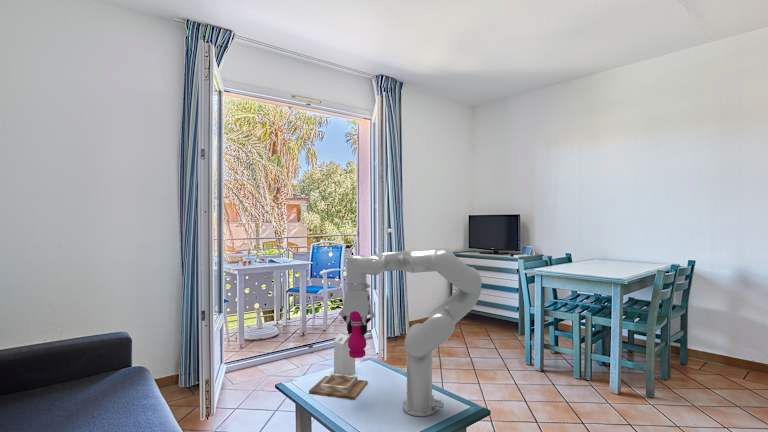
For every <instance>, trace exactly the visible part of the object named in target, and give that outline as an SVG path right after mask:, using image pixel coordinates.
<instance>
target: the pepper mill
mask: <svg viewBox="0 0 768 432" xmlns="http://www.w3.org/2000/svg"><path fill="white" fill-rule="evenodd" d="M350 318H351V325H352V333H351V334H350V335H349V336H350V338H349V340H348V347H349V349H350V351H349V356H350V357H352V358H355V359H361V358H364V357H365V356H366V350H365V349H366V347H367V344H368V343H367V339H366V337H365V335H364V336H363V335H362V325H363V321H362V317H361V316H360V314H359V313H358V312H357V311H353V312H351V313H350Z"/></svg>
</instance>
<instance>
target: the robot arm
mask: <svg viewBox="0 0 768 432" xmlns="http://www.w3.org/2000/svg"><path fill="white" fill-rule="evenodd" d="M392 271H397V272H398V271H405V272H408V273H411V274H412V273H413V274H416V273H432V272H437V273H438V274H439V275H440V276H441V277H443V278H444V279H445V280H447V281H448V282H449V283H451V284H452V285H453V286H455V288H457V289H456V290H455V292H454V293H453V294H452V295H450V297H448V298H447V299H446V300H445V301H443V302H442V303H441V304H440V305H438V306H437V307H435V308H434V309H433V310H431V312H430V313H429V316H428V318H427V319H426V320H425V321H424V322H423V323H420V322H418V323H414V324H413V325H411V326H410V327H409V328H408V330H407V333H406V335H405V339H404V350H405V352H406V400H405V401H404V402H403V403H402V410H403V412H405V413H406V414H408V415H410V416H415V417H428V416H431V415H433V414H434V413H436V411H437V409H444V408H445V402H442V399H436V398H435V395H434V394H433V352H434V351H435V350H436V349H437V348H439V347H440V346H441V345H442V344H443V343H445V342H446V341H447V340H448V339H449V338H450V337H451V336H452V334H453V333H454V331H455V329H456V324H457V323H458V322H459V321H461V319H463V318H464V317H465V316H466V315H468V313H470V311H472V310H473V308H475V306H476V304H477V303H478V301H479V298H480V296H481V291H482V283H483V281H482V277H481V275H480V273H479V271H478V270H477V269H476V268H475V267H473V266H469V265H467V264H466V263H464V262H463V260H461V259H459V258H458V257H457V256H456V255H455V254H454V252H453V251H452V250H451V249H449V248H447V247H441V248H439V247H436V248H426V249H413V250H404V251H393V252H392V251H390V252H389V251H388V252H379V253H374V254H373V255H369V256H366V255H363V254H351V255H348V256H347V258H346V289H345V293H344V299H343V308H342V309H341V311H339V312H338V315H339V316H340V317H341V318H342V319H343V321H344V322H345V324H346V331H347V333H348V334H349V335H351V333H352V325H351V318H350V313H351V312H353V311H357V312H358V313H359V314H360V316H361V317H362V321H363V325H362V335H363V336H365V335H366V334H367V333H368V324H369V322H371V321H372V320H373V319H374V318H375V317H376V313H374V311H373V310H372V305H371V304H372V303H371V302H372V301H371V295H370V291H369V289H370V288H371V284H368V282H367V275H370V276H377V275H380V274H382V273H383V272H392ZM368 316H369V317H368Z"/></svg>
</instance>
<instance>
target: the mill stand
mask: <svg viewBox="0 0 768 432" xmlns="http://www.w3.org/2000/svg"><path fill="white" fill-rule="evenodd" d="M368 384H369V383H368V380H363V379H358V376H357V375H356V376H355V375H340V374H336V373H331V374H330V375H325V376H324V377H323V378H321V379H320V380H319V381H318V382H316V384H314V385H313V386H312V387H311V388H310V389H309V390H308V394H310V395H316V396H322V397H323V396H324V397H331V398H336V399H338V398H339V399H347V400H351V401H352V400H353V401H355V400H356V399H357V398H358V396H359V395H360V394H361V393H362V392H363V390H365V387H367V385H368Z"/></svg>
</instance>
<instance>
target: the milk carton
mask: <svg viewBox="0 0 768 432" xmlns="http://www.w3.org/2000/svg"><path fill="white" fill-rule="evenodd" d="M350 336H351V335H350V334H348V332H345V331H343V330H339V333H338V335H337V336H336V337H335V339H334V340H333V374H340V375H349V376H352V375H354V374H356V358H352V357H350V356H349V351H350V349H349V347H348V340H349V338H350Z"/></svg>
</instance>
